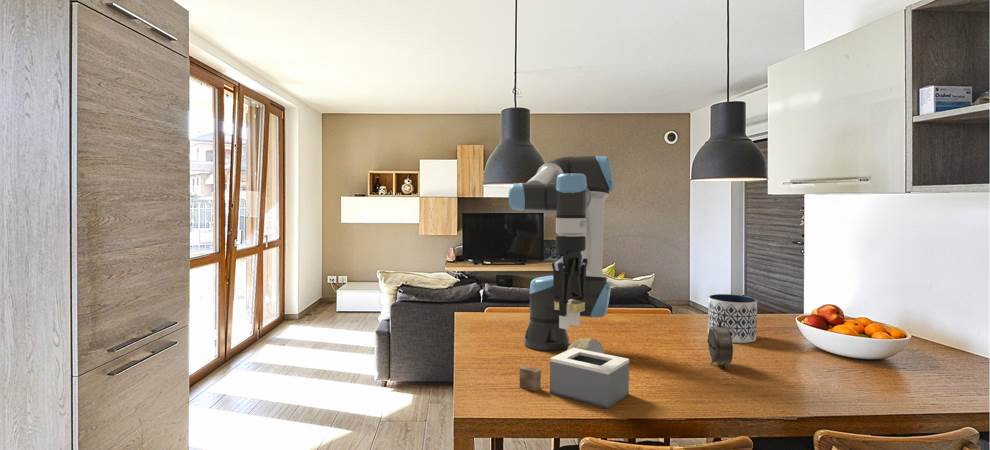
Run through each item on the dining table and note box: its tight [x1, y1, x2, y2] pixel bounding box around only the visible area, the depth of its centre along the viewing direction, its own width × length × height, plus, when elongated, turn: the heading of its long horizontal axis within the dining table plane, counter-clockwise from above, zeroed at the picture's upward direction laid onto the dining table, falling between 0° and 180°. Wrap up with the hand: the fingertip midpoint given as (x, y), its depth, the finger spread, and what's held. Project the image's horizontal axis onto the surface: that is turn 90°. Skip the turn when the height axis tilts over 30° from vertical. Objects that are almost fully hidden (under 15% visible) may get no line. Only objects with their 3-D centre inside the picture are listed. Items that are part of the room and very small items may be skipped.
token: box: [554, 300, 585, 313], centre depth 130 cm, size 6×4×2 cm, turn 50°
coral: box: [566, 337, 605, 354], centre depth 149 cm, size 10×10×10 cm
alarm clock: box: [706, 312, 734, 372], centre depth 153 cm, size 11×5×16 cm, turn 170°
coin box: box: [549, 348, 630, 410], centre depth 130 cm, size 16×12×9 cm
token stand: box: [519, 365, 542, 392], centre depth 134 cm, size 5×2×5 cm, turn 52°
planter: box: [707, 293, 758, 344], centre depth 185 cm, size 16×16×14 cm
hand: (569, 326), depth 131 cm, fingers closed on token, 4 cm apart
